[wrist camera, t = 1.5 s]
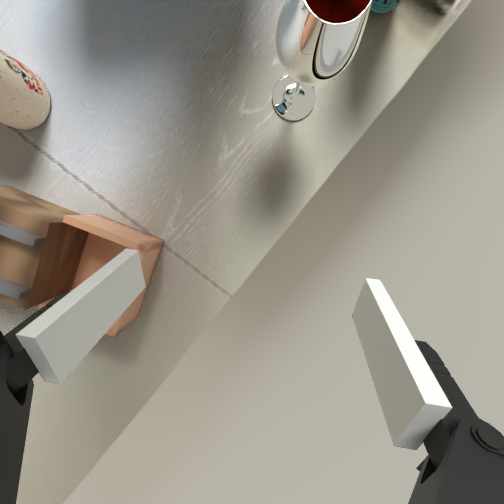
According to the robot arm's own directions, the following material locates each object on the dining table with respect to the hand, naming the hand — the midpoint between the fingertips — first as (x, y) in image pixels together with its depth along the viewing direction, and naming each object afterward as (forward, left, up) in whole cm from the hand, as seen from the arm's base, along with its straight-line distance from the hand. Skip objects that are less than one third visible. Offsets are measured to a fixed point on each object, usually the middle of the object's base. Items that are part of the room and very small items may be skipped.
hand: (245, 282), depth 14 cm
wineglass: (-18, +13, -25) cm, 34 cm away
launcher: (-10, -31, -25) cm, 41 cm away
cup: (-2, -22, -25) cm, 33 cm away
